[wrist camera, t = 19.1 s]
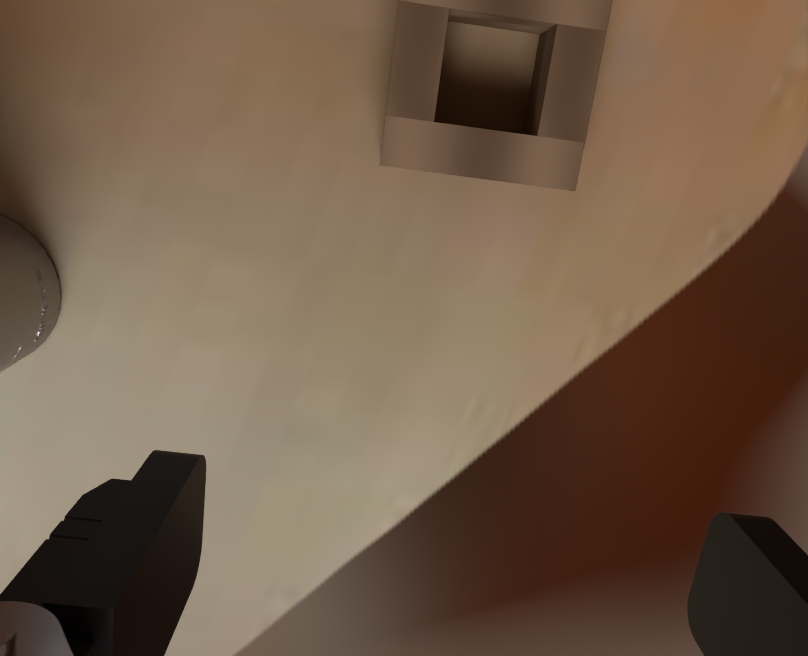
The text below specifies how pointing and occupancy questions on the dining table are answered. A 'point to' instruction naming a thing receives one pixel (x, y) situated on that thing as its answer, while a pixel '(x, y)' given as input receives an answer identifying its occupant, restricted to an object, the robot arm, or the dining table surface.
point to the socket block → (548, 101)
